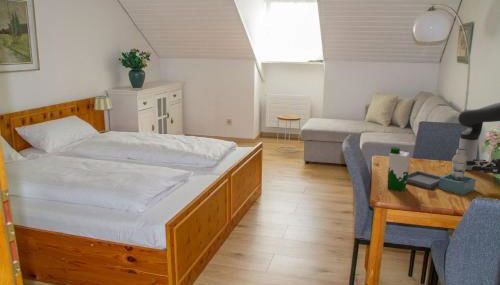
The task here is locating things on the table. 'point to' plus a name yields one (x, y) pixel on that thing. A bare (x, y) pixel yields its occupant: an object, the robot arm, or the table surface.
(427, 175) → the tray
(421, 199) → the table surface
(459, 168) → the plastic bottle
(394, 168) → the milk carton
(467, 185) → the teal open box
